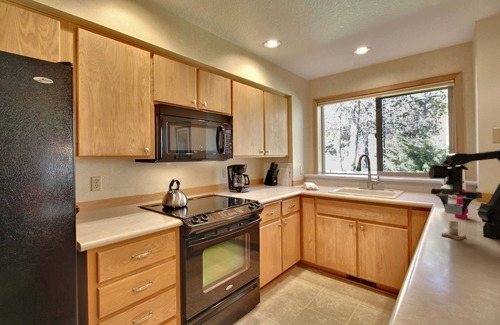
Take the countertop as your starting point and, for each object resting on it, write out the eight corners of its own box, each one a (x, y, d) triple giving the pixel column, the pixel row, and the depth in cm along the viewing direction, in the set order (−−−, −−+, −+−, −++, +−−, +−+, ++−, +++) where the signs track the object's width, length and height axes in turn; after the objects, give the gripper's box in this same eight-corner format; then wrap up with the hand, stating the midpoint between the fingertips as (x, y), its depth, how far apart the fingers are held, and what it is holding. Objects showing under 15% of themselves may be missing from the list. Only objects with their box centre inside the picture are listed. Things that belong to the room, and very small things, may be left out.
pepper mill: (463, 219, 150) (462, 187, 150) (450, 216, 157) (450, 185, 157) (471, 218, 152) (471, 186, 152) (458, 215, 159) (458, 185, 159)
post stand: (466, 237, 116) (466, 222, 116) (459, 239, 113) (458, 224, 113) (448, 233, 122) (448, 219, 122) (441, 235, 119) (441, 221, 119)
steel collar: (467, 213, 118) (467, 205, 118) (459, 215, 115) (459, 206, 115) (450, 210, 124) (450, 203, 124) (442, 212, 121) (442, 204, 121)
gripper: (424, 178, 124) (424, 208, 124) (470, 181, 107) (470, 216, 107) (437, 177, 129) (436, 206, 129) (482, 180, 112) (482, 213, 112)
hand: (454, 210), depth 119 cm, fingers closed on steel collar, 7 cm apart
